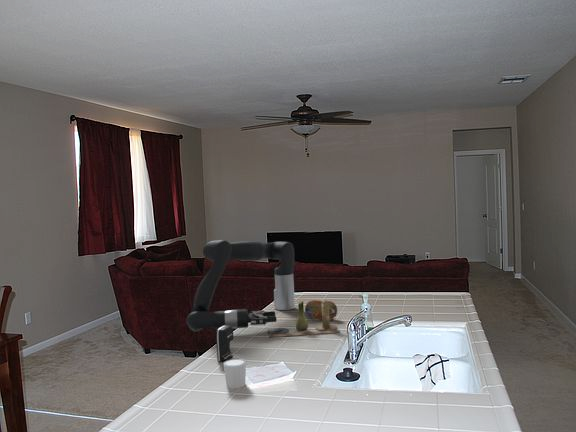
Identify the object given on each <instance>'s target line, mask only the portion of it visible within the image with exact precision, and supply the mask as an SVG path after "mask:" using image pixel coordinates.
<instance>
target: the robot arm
mask: <svg viewBox="0 0 576 432" xmlns="http://www.w3.org/2000/svg"><path fill="white" fill-rule="evenodd" d="M202 255H203V257H204V258H205V259H206V260H207V261H209V262H212V265H211V267H210V269H209V270H208V272H207V273H206V275H205V276H204V277H203V279H202V280H201V281H200V283H199V285H198V286H197V290H196V293H195V296H194V299H193V306H192V307H193V308H192V311H191V312H190V313H189V314H188V315H187V317H186V321H185V322H186V324H187V327H188V328H189V329H190V330H191V331H193V332H200V331H202V330H203V329H208V328H209V329H215V330H217V329H218V328H220V327H222V326H231V327H232V329H233V330H234V329H247V328H249V323H250V325H251V326H259V325H262V326H263V325H266V324H268V323H277V316H276V311H272V310H271V311H265V310H263V309H262V310H251V311H250V313H249V312H248V309H247V308H243V309H231V310H230V309H229V310H222V311H220V310H219V311H209V310H210V306H211V303H212V301H213V297H214V294H215V290H216V288H217V285H218V283H219V281H220V279H221V276H223V275H222V274H223V273H224V271H225V268H226V266H227V264H228V262H229V261H230V260H231V261H232V260H233V261H241V262H244V261H245V262H256V261H261V260H263V259H270V260H277V261H280V266H278V267H275V268H274V283H275V284H274V287H275V288H274V289H273V302H274V303H273V304H274V309H276V310H278V311H290V310H294V309H295V308H296V307H295V303H296V302H295V281H294V269H295V248H294V245H293V243H292V242H290V241H273V242H261V241H257V240H256V241H255V240H245V241H244V240H243V241H236V242H235V241H234V242H229V241H227V240H224V239H219V240H217V239H216V240H211V241H209V242H207V243H206V244H204V246H203V249H202Z"/></svg>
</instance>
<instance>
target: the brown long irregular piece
mask: <svg viewBox="0 0 576 432" xmlns="http://www.w3.org/2000/svg"><path fill="white" fill-rule="evenodd" d="M321 301H322V320H321V321H322V322H321V323H322V324H320V325H316V326H315V330H316V331H307V332H306V331H305V332H304V331H302V332H294V333H293V332H290V329H289V328H288V327H274V328H270V329H268V330H267V333H268V339H274V338H286V337H287V338H288V337H301V336H302V337H303V336H319V335H329V334H330V335H331V334H341V331H340V329H338V327H337V325H333V324H330V320H329V302H328V301H329V300H328V299H325V300H321ZM289 332H290V333H289Z"/></svg>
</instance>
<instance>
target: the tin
mask: <svg viewBox="0 0 576 432" xmlns="http://www.w3.org/2000/svg"><path fill="white" fill-rule="evenodd" d="M322 301H323V300H310V301H308V302H307V303H306V304H305V308H304V311H305V312H304V313H306V316H307V317H308V319H310V320H320V321H322ZM327 301H328V302H329V321H331V320H333V319H335V317H336V316H337V315H338V307H337V305H336V303H335V302H333V301H331V300H327Z"/></svg>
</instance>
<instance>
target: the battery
mask: <svg viewBox="0 0 576 432" xmlns="http://www.w3.org/2000/svg"><path fill="white" fill-rule="evenodd" d="M232 341H234V328H233V329H232V327H231V326H222V327H220V328H218V329H216V331H215V343H216V345H215V346H216V359H217V362H225V361H228V360H231V358H233V353H232V350H231V342H232Z"/></svg>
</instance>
